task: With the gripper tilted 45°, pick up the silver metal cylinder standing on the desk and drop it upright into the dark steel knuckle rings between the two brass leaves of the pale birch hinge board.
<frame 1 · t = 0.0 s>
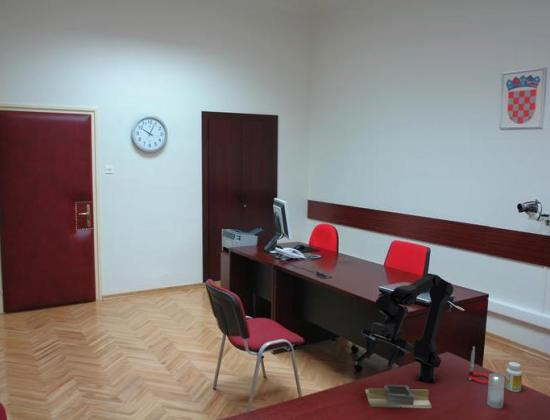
hand: (377, 362, 169), 15 cm above the table, tool tilted 35°, fingers open, 9 cm apart
silver metal cylinder: (495, 404, 170), on the table
supplement bottle: (512, 389, 183), on the table
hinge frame: (398, 401, 172), on the table
tow hook: (481, 380, 190), on the table
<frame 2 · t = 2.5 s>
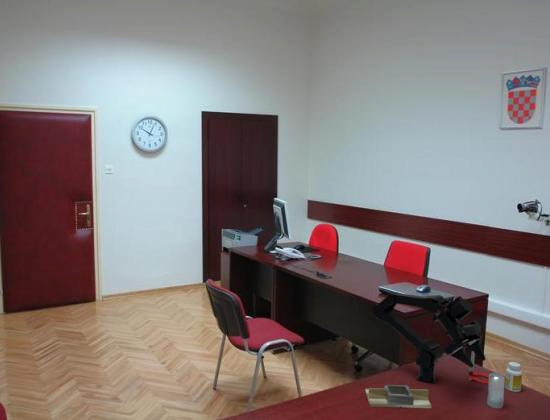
hand: (478, 363, 174), 13 cm above the table, tool tilted 45°, fingers open, 9 cm apart
nothing on the table moved.
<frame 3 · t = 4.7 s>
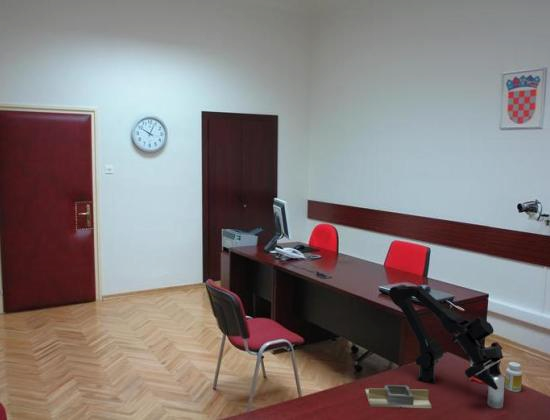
hand: (500, 386, 169), 7 cm above the table, tool tilted 45°, fingers closed on silver metal cylinder, 5 cm apart
silver metal cylinder: (495, 404, 170), on the table, touching gripper
everything else where it was.
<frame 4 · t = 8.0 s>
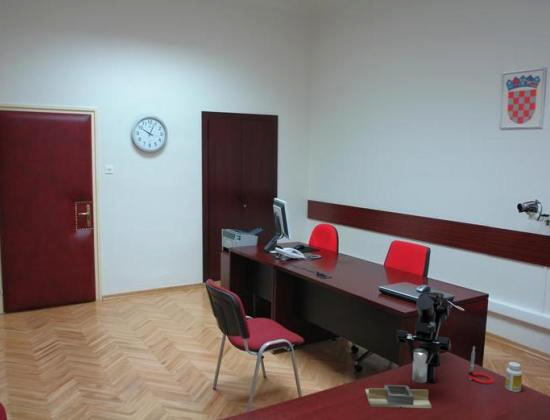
hand: (419, 362, 172), 14 cm above the table, tool tilted 45°, fingers closed on silver metal cylinder, 5 cm apart
silver metal cylinder: (419, 379, 174), point 7 cm above the table, touching gripper
everything else where it was.
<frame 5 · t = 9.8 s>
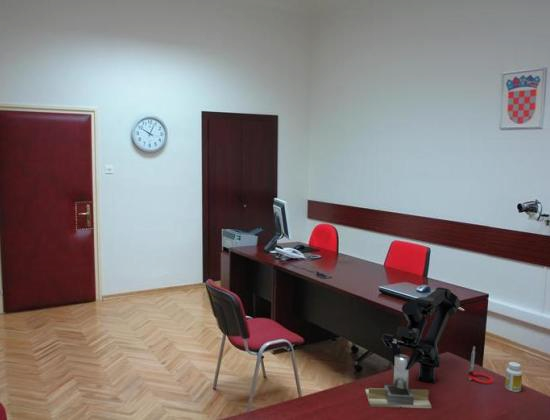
hand: (399, 367, 171), 12 cm above the table, tool tilted 45°, fingers closed on silver metal cylinder, 5 cm apart
silver metal cylinder: (400, 385, 172), point 5 cm above the table, touching gripper
everything else where it was.
when the fingers open (10 cm above the table, at t = 11.1 s): silver metal cylinder drops 2 cm, resting on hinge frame.
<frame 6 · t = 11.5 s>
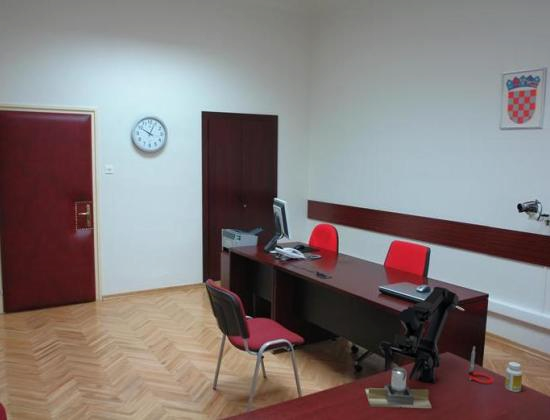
hand: (397, 375, 170), 10 cm above the table, tool tilted 45°, fingers open, 9 cm apart
silver metal cylinder: (398, 398, 172), point 1 cm above the table, touching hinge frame
everything else where it was.
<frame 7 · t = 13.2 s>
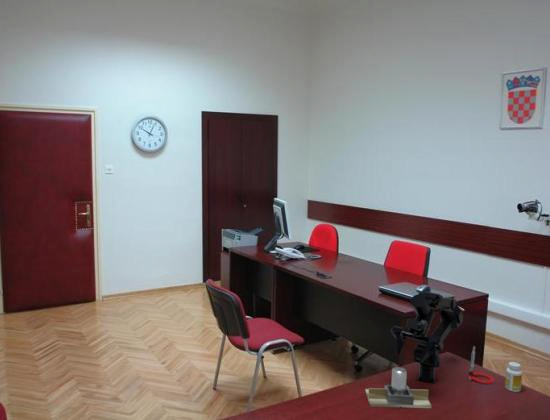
hand: (409, 358, 176), 14 cm above the table, tool tilted 45°, fingers open, 9 cm apart
nothing on the table moved.
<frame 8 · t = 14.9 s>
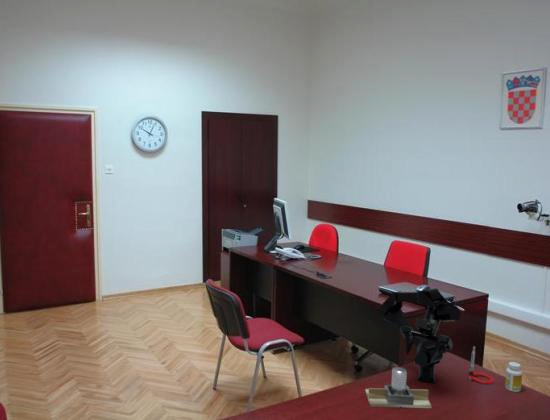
hand: (418, 357, 177), 14 cm above the table, tool tilted 45°, fingers open, 9 cm apart
nothing on the table moved.
at the end: silver metal cylinder 0.1 cm off-centre on the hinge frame, point 1.0 cm above the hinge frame's base; silver metal cylinder tilted 0°; the gripper is holding nothing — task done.
